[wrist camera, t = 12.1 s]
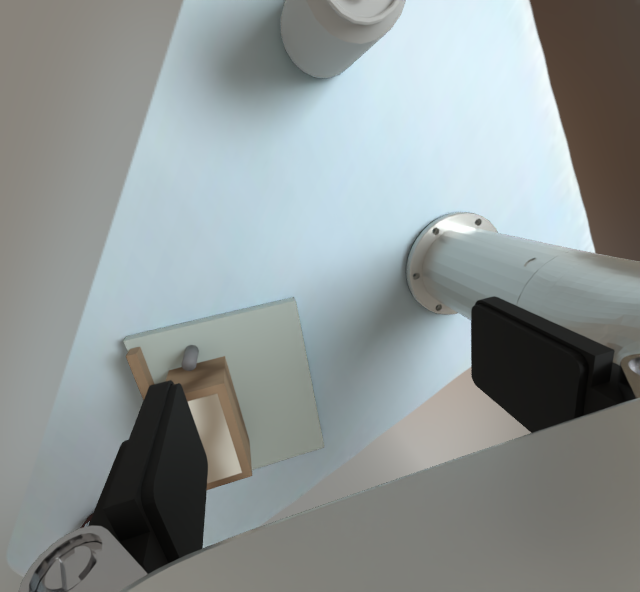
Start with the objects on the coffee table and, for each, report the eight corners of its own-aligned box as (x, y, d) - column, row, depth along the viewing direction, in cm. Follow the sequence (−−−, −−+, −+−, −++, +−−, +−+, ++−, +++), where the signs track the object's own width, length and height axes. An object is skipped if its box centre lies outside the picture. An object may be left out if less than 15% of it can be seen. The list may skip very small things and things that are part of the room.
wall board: (293, 297, 40) (300, 309, 36) (322, 441, 47) (330, 464, 44) (126, 336, 37) (114, 354, 33) (185, 483, 44) (180, 512, 40)
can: (365, -1, 32) (435, -92, 21) (349, 89, 35) (406, 49, 23) (285, -29, 30) (317, -146, 19) (273, 69, 32) (296, 14, 21)
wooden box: (224, 356, 39) (224, 383, 34) (249, 440, 43) (252, 476, 38) (168, 370, 38) (159, 400, 33) (199, 455, 42) (195, 494, 37)
